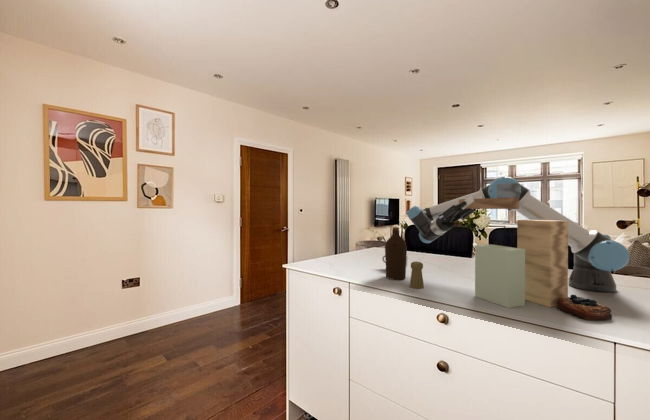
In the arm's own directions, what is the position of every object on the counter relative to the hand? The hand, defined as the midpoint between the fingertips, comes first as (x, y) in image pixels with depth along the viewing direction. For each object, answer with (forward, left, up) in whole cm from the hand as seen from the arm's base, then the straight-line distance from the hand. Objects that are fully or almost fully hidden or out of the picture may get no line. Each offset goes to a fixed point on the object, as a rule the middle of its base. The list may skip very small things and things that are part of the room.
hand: (477, 198), depth 115 cm
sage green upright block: (0, +10, -38) cm, 40 cm away
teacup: (+8, -49, -39) cm, 63 cm away
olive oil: (+18, -32, -39) cm, 53 cm away
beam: (0, +4, -4) cm, 6 cm away
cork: (+18, -15, -39) cm, 45 cm away
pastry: (-15, +29, -39) cm, 51 cm away
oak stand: (-15, +15, -38) cm, 44 cm away
